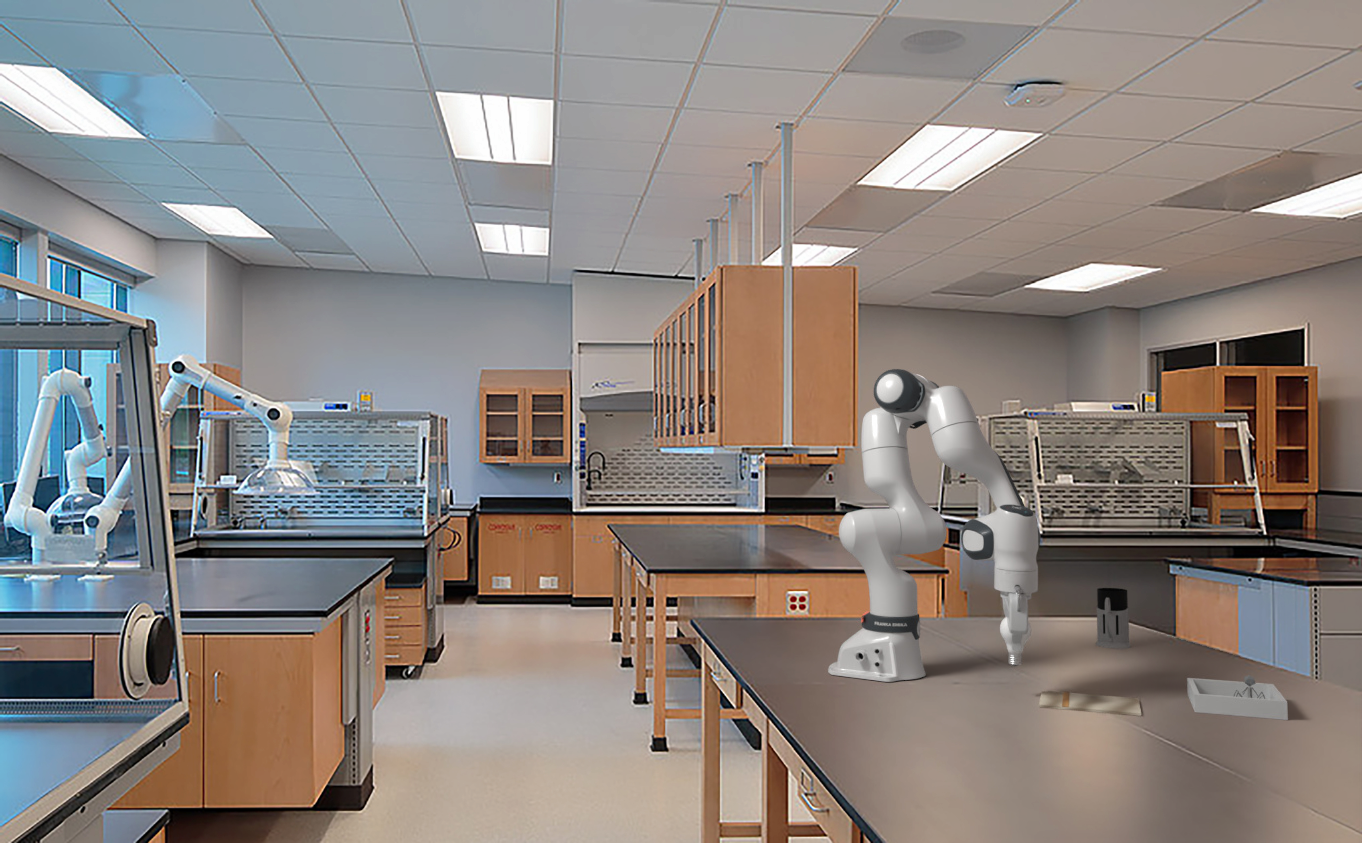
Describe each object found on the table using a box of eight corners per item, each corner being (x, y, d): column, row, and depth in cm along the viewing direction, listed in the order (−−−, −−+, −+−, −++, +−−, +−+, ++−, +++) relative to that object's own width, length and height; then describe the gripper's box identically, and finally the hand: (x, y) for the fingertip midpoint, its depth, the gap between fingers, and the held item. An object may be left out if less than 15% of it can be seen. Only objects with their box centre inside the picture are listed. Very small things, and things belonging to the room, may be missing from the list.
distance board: (1038, 706, 201) (1038, 703, 202) (1041, 692, 213) (1041, 689, 214) (1141, 715, 194) (1141, 712, 194) (1138, 700, 206) (1138, 697, 206)
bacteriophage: (1232, 710, 199) (1231, 677, 199) (1229, 701, 206) (1228, 669, 206) (1272, 714, 196) (1271, 680, 196) (1267, 705, 203) (1266, 672, 203)
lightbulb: (1017, 671, 206) (1018, 618, 206) (992, 664, 211) (993, 613, 211) (1036, 667, 209) (1037, 615, 209) (1011, 660, 215) (1012, 610, 215)
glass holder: (1133, 644, 268) (1132, 588, 268) (1125, 653, 256) (1123, 595, 256) (1098, 641, 272) (1097, 586, 273) (1089, 649, 260) (1088, 592, 261)
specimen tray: (1194, 712, 197) (1194, 694, 197) (1187, 694, 212) (1187, 677, 212) (1287, 719, 191) (1287, 701, 191) (1273, 700, 206) (1273, 683, 206)
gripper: (1035, 591, 199) (1035, 659, 200) (1027, 574, 219) (1027, 636, 219) (1003, 589, 201) (1002, 656, 201) (997, 573, 221) (997, 635, 221)
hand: (1015, 646), depth 210 cm, fingers closed on lightbulb, 5 cm apart
